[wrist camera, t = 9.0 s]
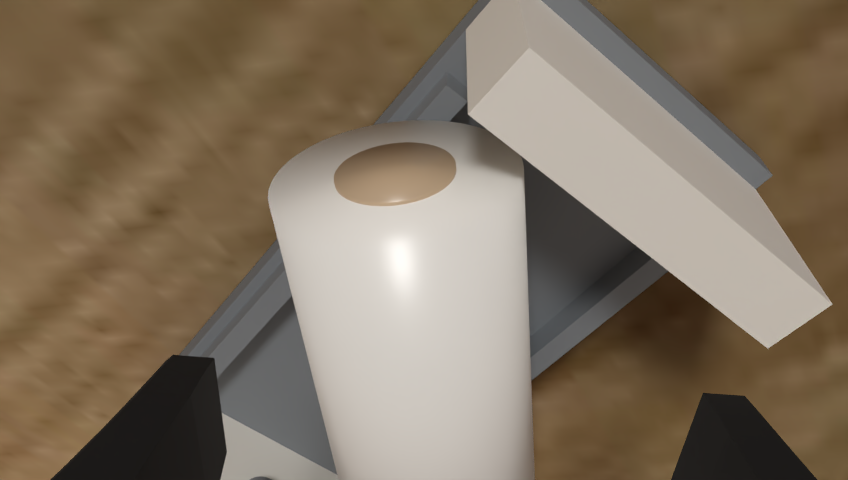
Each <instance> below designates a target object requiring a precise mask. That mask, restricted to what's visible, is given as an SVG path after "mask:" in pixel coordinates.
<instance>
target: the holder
mask: <svg viewBox="0 0 848 480" xmlns="http://www.w3.org/2000/svg"><path fill="white" fill-rule="evenodd" d="M412 120H436V121H449V122H456V123H462V124H467V125H472V126H476V127H479V128H482V129H485V130H488V131H490V132H491V133H492V134H494V135H495V136H496V137H497V138H499V139H500V140H501V141H503V142H504V143H505V144H506V145H508V146H509V147H510V148H512V149H513V150H514V151H515V152H517V153H518V154H519V155H520V156H521V158H522V161H523V165H524V184H525V213H526V242H527V271H528V300H529V329H530V358H531V380H533V379H534V378H535V377H536V376H538V375H539V374H540V373H541V372H543V371H544V370H545V369H546V368H548V367H549V366H550V365H551V364H553V363H554V362H555V361H556V360H558V359H559V358H560V357H561V356H563V355H564V354H565V353H566V352H568V351H569V350H570V349H571V348H573V347H574V346H575V345H576V344H578V343H579V342H580V341H581V340H583V339H584V338H585V337H586V336H588V335H589V334H590V333H591V332H593V331H594V330H595V329H596V328H598V327H599V326H600V325H601V324H603V323H604V322H605V321H606V320H608V319H609V318H610V317H611V316H613V315H614V314H615V313H617V312H618V311H619V310H620V309H622V308H623V307H624V306H625V305H627V304H628V303H629V302H630V301H632V300H633V299H634V298H635V297H637V296H638V295H639V294H640V293H642V292H643V291H644V290H645V289H647V288H648V287H649V286H650V285H652V284H653V283H654V282H655V281H657V280H658V279H659V278H660V277H662V276H663V275H664V274H665V273H667V272H668V271H669V272H670V273H672V274H673V275H674V276H676V277H677V278H678V279H679V280H681V281H682V282H683V283H685V284H686V285H687V286H688V287H690V288H691V289H692V290H693V291H695V292H696V293H697V294H699V295H700V296H701V297H702V298H704V299H705V300H706V301H708V302H709V303H710V304H711V305H713V306H714V307H715V308H717V309H718V310H719V311H720V312H722V313H723V314H724V315H726V316H727V317H728V318H729V319H731V320H732V321H733V322H734V323H736V324H737V325H738V326H740V327H741V328H742V329H743V330H745V331H746V332H747V333H749V334H750V335H751V336H752V337H754V338H755V339H756V340H758V341H759V342H760V343H761V344H763V345H764V346H765V347H767V348H769V347H771V346H772V345H774V344H775V343H777V342H778V341H780V340H781V339H782V338H784V337H785V336H787V335H788V334H790V333H791V332H793V331H794V330H796V329H797V328H799V327H800V326H801V325H803V324H804V323H806V322H807V321H809V320H810V319H812V318H813V317H815V316H816V315H818V314H819V313H820V312H822V311H823V310H825V309H826V308H828V307H829V306H831V305H832V303H831V301H830V300H829V298H828V297H827V295H826V294H825V292H824V291H823V289H822V288H821V286H820V285H819V283H818V282H817V280H816V279H815V277H814V276H813V274H812V273H811V271H810V270H809V268H808V267H807V265H806V264H805V262H804V261H803V259H802V258H801V257H800V255H799V254H798V252H797V251H796V249H795V248H794V246H793V245H792V243H791V242H790V240H789V239H788V237H787V236H786V234H785V233H784V231H783V230H782V228H781V227H780V225H779V224H778V222H777V221H776V219H775V218H774V216H773V215H772V213H771V212H770V210H769V209H768V207H767V206H766V204H765V203H764V201H763V200H762V198H761V197H760V195H759V194H758V192H757V191H756V188H758V187H759V186H760V185H761V184H763V183H764V182H765V181H766V180H768V179H769V178H770V177H771V176H773V175H772V174H771V172H770V171H769V170H768V168H767V167H766V165H765V164H764V163H763V161H762V160H761V159H760V157H759V156H758V155H757V154H756V153H755V152H754V151H752V150H751V149H750V148H749V147H748V146H747V145H746V144H745V143H744V142H742V141H741V140H740V139H739V138H738V137H737V136H736V135H735V134H734V133H733V132H731V131H730V130H729V129H728V128H727V127H726V126H725V125H724V124H723V123H721V122H720V121H719V120H718V119H717V118H716V117H715V116H714V115H713V114H712V113H710V112H709V111H708V110H707V109H706V108H705V107H704V106H703V105H702V104H701V103H699V102H698V101H697V100H696V99H695V98H694V97H693V96H692V95H691V94H689V93H688V92H687V91H686V90H685V89H684V88H683V87H682V86H681V85H680V84H678V83H677V82H676V81H675V80H674V79H673V78H672V77H671V76H670V75H668V74H667V73H666V72H665V71H664V70H663V69H662V68H661V67H660V66H659V65H657V64H656V63H655V62H654V61H653V60H652V59H651V58H650V57H649V56H648V55H646V54H645V53H644V52H643V51H642V50H641V49H640V48H639V47H638V46H636V45H635V44H634V43H633V42H632V41H631V40H630V39H629V38H628V37H627V36H625V35H624V34H623V33H622V32H621V31H620V30H619V29H618V28H617V27H615V26H614V25H613V24H612V23H611V22H610V21H609V20H608V19H607V18H606V17H604V16H603V15H602V14H601V13H600V12H599V11H598V10H597V9H596V8H595V7H593V6H592V5H591V4H590V3H589V2H588V1H587V0H478V2H477V3H476V4H475V5H474V6H473V7H472V9H471V10H470V11H469V12H468V13H467V15H466V16H465V17H464V18H463V19H462V21H461V22H460V23H459V24H458V25H457V26H456V28H455V29H454V30H453V31H452V32H451V34H450V35H449V36H448V37H447V38H446V39H445V41H444V42H443V43H442V44H441V45H440V47H439V48H438V49H437V50H436V51H435V53H434V54H433V55H432V56H431V57H430V58H429V60H428V61H427V62H426V63H425V64H424V66H423V67H422V68H421V69H420V70H419V71H418V73H417V74H416V75H415V76H414V77H413V79H412V80H411V81H410V82H409V83H408V85H407V86H406V87H405V88H404V89H403V90H402V92H401V93H400V94H399V95H398V96H397V98H396V99H395V100H394V101H393V102H392V103H391V105H390V106H389V107H388V108H387V109H386V111H385V112H384V113H383V114H382V115H381V116H380V118H379V119H378V120H377V121H376V122H375V124H374V125H376V124H383V123H389V122H398V121H412ZM180 355H182V356H196V357H210V358H214V359H215V366H216V374H217V381H218V389H219V396H220V404H221V411H222V419H223V426H224V433H225V441H226V448H227V454H226V458H225V462H224V466H223V471H222V475H221V479H220V480H338V476H337V472H336V468H335V464H334V460H333V456H332V452H331V448H330V444H329V440H328V436H327V432H326V428H325V424H324V420H323V416H322V412H321V408H320V404H319V400H318V396H317V392H316V389H315V385H314V381H313V377H312V373H311V369H310V365H309V361H308V357H307V353H306V349H305V345H304V341H303V337H302V333H301V329H300V325H299V321H298V317H297V313H296V309H295V305H294V302H293V298H292V294H291V290H290V286H289V282H288V278H287V274H286V270H285V266H284V262H283V258H282V254H281V250H280V246H279V242H278V239H277V240H276V241H275V242H274V243H273V244H272V246H271V247H270V248H269V249H268V250H267V252H266V253H265V254H264V255H263V256H262V257H261V259H260V260H259V261H258V262H257V263H256V265H255V266H254V267H253V268H252V269H251V271H250V272H249V273H248V274H247V275H246V276H245V278H244V279H243V280H242V281H241V282H240V284H239V285H238V286H237V287H236V288H235V289H234V291H233V292H232V293H231V294H230V295H229V297H228V298H227V299H226V300H225V301H224V303H223V304H222V305H221V306H220V307H219V308H218V310H217V311H216V312H215V313H214V314H213V316H212V317H211V318H210V319H209V320H208V321H207V323H206V324H205V325H204V326H203V327H202V329H201V330H200V331H199V332H198V333H197V335H196V336H195V337H194V338H193V339H192V340H191V342H190V343H189V344H188V345H187V346H186V348H185V349H184V350H183V351H182V352H181V353H180Z"/></svg>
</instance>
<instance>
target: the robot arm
mask: <svg viewBox="0 0 848 480" xmlns="http://www.w3.org/2000/svg"><path fill="white" fill-rule="evenodd" d="M226 454H227V448H226V441H225V433H224V426H223V419H222V411H221V404H220V396H219V389H218V381H217V374H216V366H215V359H214V358H210V357H196V356H182V355H173V356H171V357H170V358H169V359H168V360H166V361H165V363H164V364H163V365H162V366H161V367H160V368H159V369H158V370H157V371H156V372H155V373H154V374H153V376H152V377H151V378H150V379H149V380H148V381H147V382H146V383H145V384H144V385H143V386H142V387H141V389H140V390H139V391H138V392H137V393H136V394H135V395H134V396H133V397H132V398H131V399H130V400H129V401H128V402H127V403H126V405H125V406H124V407H123V408H122V409H121V410H120V411H119V412H118V413H117V414H116V415H115V416H114V417H113V418H112V419H111V420H110V421H109V422H108V423H107V424H106V425H105V426H104V428H103V429H102V430H101V431H100V432H99V433H98V434H96V435H95V436H94V437H93V438H92V439H91V440H90V441H89V442H88V443H87V444H86V445H85V446H84V447H83V448H82V449H81V450H80V451H79V452H78V453H77V454H76V455H75V456H74V457H73V458H72V459H71V460H70V461H69V462H68V463H67V464H66V465H65V466H64V467H63V468H62V469H61V470H60V471H59V472H58V473H57V474H56V475H55V476H54V477H53V478H52V479H51V480H220V479H221V475H222V471H223V466H224V462H225V458H226ZM671 480H817V479H816V478H815V477H814V475H813V474H812V473H811V472H810V471H809V470H808V469H807V467H806V466H805V465H804V464H803V463H802V462H801V461H800V459H799V458H798V457H797V456H796V455H795V454H794V452H793V451H792V450H791V449H790V448H789V447H788V446H787V444H786V443H785V442H784V441H783V440H782V439H781V437H780V436H779V435H778V434H777V433H776V431H775V430H774V429H773V428H772V427H771V426H770V424H769V423H768V422H767V421H766V420H765V419H764V417H763V416H762V415H761V414H760V413H759V412H758V411H757V409H756V408H755V407H754V406H753V405H752V404H751V403H750V401H749V400H748V399H747V398H746V397H745V396H737V395H723V394H709V393H703V395H702V397H701V400H700V403H699V405H698V408H697V411H696V414H695V416H694V419H693V422H692V424H691V427H690V430H689V433H688V435H687V438H686V441H685V443H684V446H683V449H682V452H681V454H680V457H679V460H678V462H677V465H676V468H675V471H674V473H673V476H672V479H671Z"/></svg>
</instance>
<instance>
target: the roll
mask: <svg viewBox="0 0 848 480" xmlns="http://www.w3.org/2000/svg"><path fill="white" fill-rule="evenodd" d="M268 202H269V207H270V211H271V214H272V218H273V222H274V226H275V230H276V234H277V238H278V242H279V246H280V250H281V254H282V258H283V262H284V266H285V270H286V274H287V278H288V282H289V286H290V290H291V294H292V298H293V302H294V305H295V309H296V313H297V317H298V321H299V325H300V329H301V333H302V337H303V341H304V345H305V349H306V353H307V357H308V361H309V365H310V369H311V373H312V377H313V381H314V385H315V389H316V392H317V396H318V400H319V404H320V408H321V412H322V416H323V420H324V424H325V428H326V432H327V436H328V440H329V444H330V448H331V452H332V456H333V460H334V464H335V468H336V472H337V476H338V480H535V474H534V445H533V416H532V387H531V358H530V329H529V300H528V271H527V242H526V213H525V184H524V165H523V161H522V158H521V156H520V155H519V154H518V153H517V152H515V151H514V150H513V149H512V148H510V147H509V146H508V145H506V144H505V143H504V142H503V141H501V140H500V139H499V138H497V137H496V136H495V135H494V134H492V133H491V132H490V131H488V130H485V129H482V128H479V127H476V126H472V125H467V124H462V123H456V122H449V121H436V120H412V121H398V122H389V123H383V124H376V125H371V126H367V127H362V128H358V129H355V130H351V131H347V132H344V133H341V134H338V135H335V136H333V137H330V138H328V139H325V140H323V141H321V142H319V143H317V144H315V145H313V146H311V147H309V148H307V149H305V150H304V151H302V152H300V153H299V154H298V155H296V156H295V157H293V158H292V159H291V160H289V161H288V162H287V163H286V164H285V165H284V166H283V167H282V168H281V169H280V170H279V172H278V173H277V174H276V175H275V177H274V179H273V180H272V182H271V185H270V188H269V191H268Z"/></svg>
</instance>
